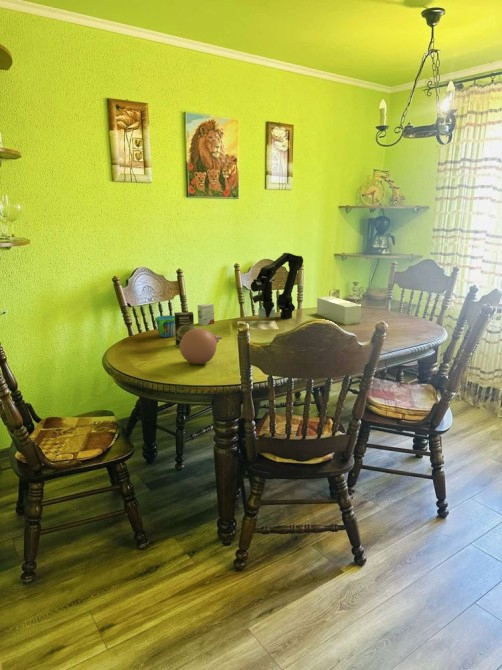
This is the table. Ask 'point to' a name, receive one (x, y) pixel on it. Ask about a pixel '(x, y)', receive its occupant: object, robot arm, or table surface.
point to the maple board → (260, 325)
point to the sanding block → (263, 314)
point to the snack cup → (165, 325)
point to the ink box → (205, 314)
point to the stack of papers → (339, 310)
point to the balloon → (198, 345)
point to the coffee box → (182, 325)
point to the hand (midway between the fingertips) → (267, 316)
